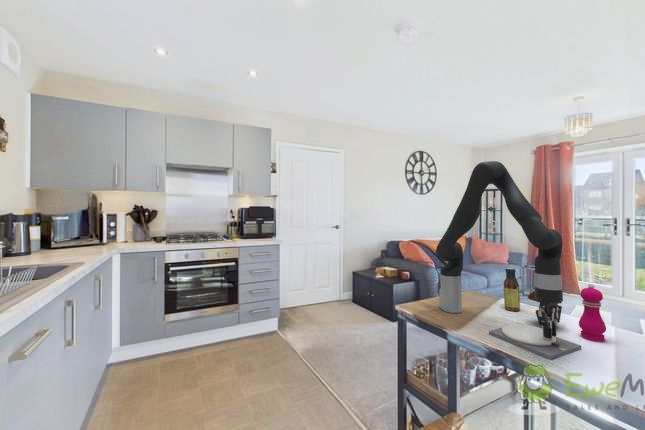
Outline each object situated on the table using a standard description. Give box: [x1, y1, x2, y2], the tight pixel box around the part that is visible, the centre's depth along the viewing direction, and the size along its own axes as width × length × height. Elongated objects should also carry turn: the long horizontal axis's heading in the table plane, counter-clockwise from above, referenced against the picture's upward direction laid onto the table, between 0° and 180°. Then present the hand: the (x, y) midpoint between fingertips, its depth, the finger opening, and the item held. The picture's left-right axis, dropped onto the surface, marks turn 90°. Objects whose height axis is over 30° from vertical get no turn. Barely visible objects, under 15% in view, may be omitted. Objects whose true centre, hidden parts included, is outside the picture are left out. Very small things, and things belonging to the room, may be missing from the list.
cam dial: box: [501, 323, 559, 347], centre depth 101 cm, size 18×16×7 cm
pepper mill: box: [578, 283, 607, 343], centre depth 102 cm, size 7×7×20 cm
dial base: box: [488, 327, 582, 361], centre depth 100 cm, size 21×17×1 cm
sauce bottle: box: [503, 267, 521, 312], centre depth 133 cm, size 7×6×20 cm
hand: (550, 336), depth 95 cm, fingers closed on cam dial, 2 cm apart
